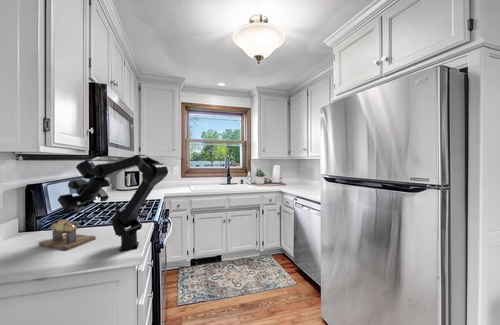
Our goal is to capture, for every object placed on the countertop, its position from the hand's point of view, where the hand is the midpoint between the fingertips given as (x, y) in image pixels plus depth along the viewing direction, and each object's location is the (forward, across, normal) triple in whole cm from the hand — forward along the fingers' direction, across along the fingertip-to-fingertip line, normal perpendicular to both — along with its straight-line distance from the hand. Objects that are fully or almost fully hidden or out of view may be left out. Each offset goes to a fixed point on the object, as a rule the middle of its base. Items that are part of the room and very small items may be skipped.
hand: (75, 210), depth 101 cm
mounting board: (+9, +3, +9) cm, 13 cm away
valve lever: (+4, 0, +5) cm, 6 cm away
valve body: (+9, +4, +8) cm, 12 cm away
